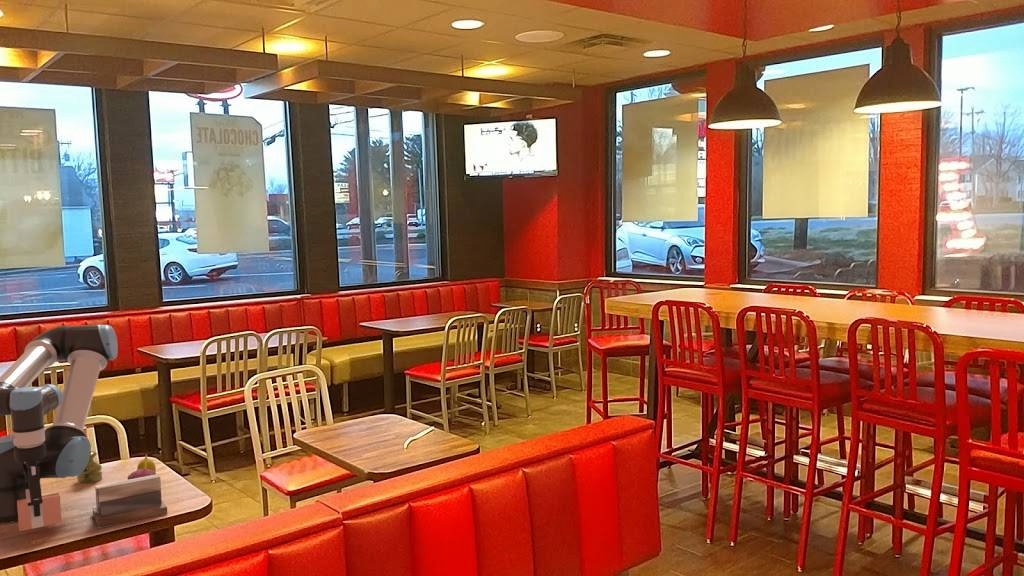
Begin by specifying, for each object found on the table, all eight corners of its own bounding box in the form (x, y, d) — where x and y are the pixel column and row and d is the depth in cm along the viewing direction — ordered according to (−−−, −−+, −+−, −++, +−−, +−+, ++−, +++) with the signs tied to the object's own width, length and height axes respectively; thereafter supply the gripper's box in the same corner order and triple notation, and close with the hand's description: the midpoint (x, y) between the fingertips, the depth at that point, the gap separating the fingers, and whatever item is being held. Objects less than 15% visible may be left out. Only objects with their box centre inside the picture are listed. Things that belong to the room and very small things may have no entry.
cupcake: (146, 485, 262) (144, 449, 260) (163, 489, 257) (161, 453, 256) (122, 493, 254) (120, 456, 253) (139, 498, 250) (136, 460, 249)
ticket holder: (92, 514, 237) (90, 481, 236) (158, 501, 247) (156, 469, 246) (99, 528, 227) (97, 493, 226) (167, 513, 238) (165, 480, 237)
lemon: (144, 478, 268) (142, 455, 267) (159, 479, 267) (158, 455, 266) (134, 484, 263) (132, 460, 262) (150, 485, 262) (148, 461, 261)
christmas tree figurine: (107, 477, 270) (105, 448, 268) (91, 484, 262) (89, 455, 261) (88, 475, 271) (86, 446, 270) (71, 483, 264) (69, 453, 263)
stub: (18, 527, 222) (16, 500, 221) (60, 519, 228) (58, 492, 227) (19, 531, 220) (17, 503, 219) (61, 522, 226) (59, 495, 225)
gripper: (10, 435, 229) (15, 507, 231) (17, 458, 208) (23, 537, 211) (40, 431, 233) (45, 501, 235) (50, 453, 213) (56, 530, 215)
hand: (35, 518), depth 223 cm, fingers open, 13 cm apart
